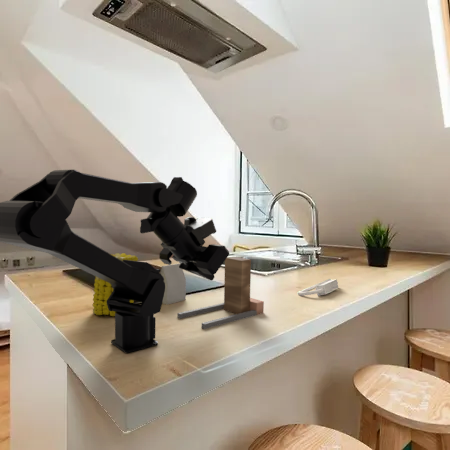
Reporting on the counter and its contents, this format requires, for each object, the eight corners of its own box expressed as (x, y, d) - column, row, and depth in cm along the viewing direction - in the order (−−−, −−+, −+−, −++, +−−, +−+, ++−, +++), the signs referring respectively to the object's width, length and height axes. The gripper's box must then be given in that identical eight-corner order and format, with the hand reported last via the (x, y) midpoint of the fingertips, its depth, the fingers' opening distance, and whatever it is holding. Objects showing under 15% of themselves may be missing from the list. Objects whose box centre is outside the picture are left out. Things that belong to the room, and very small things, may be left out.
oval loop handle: (320, 289, 123) (317, 278, 123) (343, 287, 118) (341, 275, 118) (294, 301, 107) (291, 288, 107) (320, 299, 102) (317, 285, 102)
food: (86, 319, 86) (126, 313, 93) (106, 319, 78) (148, 313, 84) (84, 255, 89) (122, 254, 95) (103, 249, 80) (144, 248, 86)
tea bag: (185, 300, 99) (185, 264, 98) (167, 305, 94) (167, 267, 93) (176, 298, 101) (176, 262, 101) (157, 302, 96) (157, 265, 95)
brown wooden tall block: (240, 315, 85) (241, 260, 85) (224, 309, 90) (224, 257, 89) (249, 313, 87) (250, 259, 87) (232, 307, 92) (233, 256, 91)
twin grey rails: (204, 329, 76) (204, 315, 75) (177, 318, 83) (177, 305, 83) (263, 313, 88) (263, 301, 88) (235, 304, 95) (235, 293, 95)
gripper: (223, 205, 71) (260, 256, 79) (170, 204, 85) (206, 248, 93) (190, 247, 67) (233, 297, 74) (140, 239, 80) (181, 282, 88)
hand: (212, 278), depth 83 cm, fingers closed
